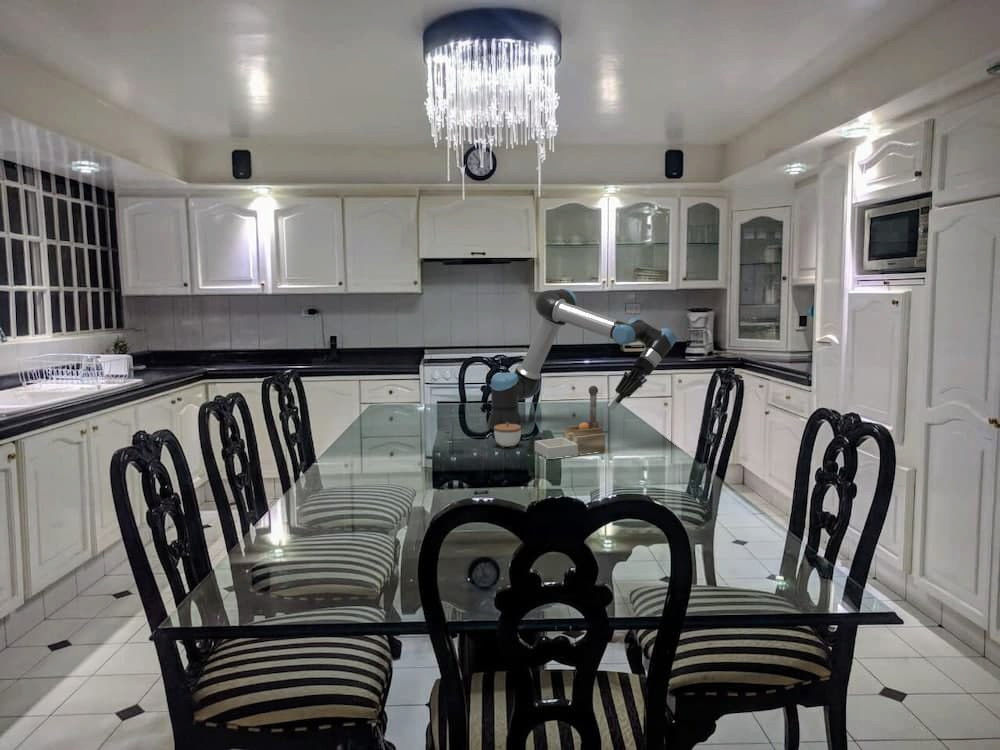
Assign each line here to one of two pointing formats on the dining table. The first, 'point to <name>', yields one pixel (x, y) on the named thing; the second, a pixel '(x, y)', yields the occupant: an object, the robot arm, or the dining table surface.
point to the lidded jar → (507, 434)
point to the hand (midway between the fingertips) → (610, 408)
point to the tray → (556, 447)
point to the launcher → (586, 439)
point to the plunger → (593, 407)
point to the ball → (583, 426)
